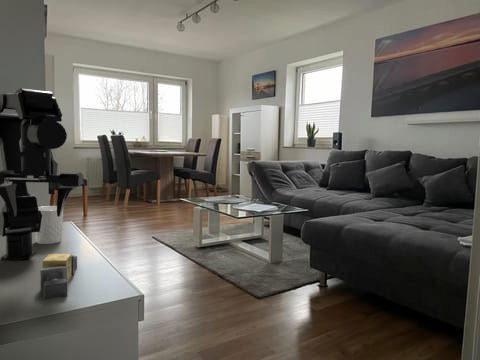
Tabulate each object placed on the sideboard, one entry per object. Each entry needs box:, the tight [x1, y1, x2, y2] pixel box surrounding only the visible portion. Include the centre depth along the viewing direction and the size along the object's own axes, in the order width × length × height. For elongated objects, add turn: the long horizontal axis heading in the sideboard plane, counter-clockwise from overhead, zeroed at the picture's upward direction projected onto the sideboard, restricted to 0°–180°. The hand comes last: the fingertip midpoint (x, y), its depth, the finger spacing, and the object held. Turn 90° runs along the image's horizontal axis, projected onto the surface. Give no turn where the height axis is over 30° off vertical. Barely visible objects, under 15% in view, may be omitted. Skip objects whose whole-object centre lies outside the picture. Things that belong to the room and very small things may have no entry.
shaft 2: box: [71, 254, 78, 276], centre depth 84 cm, size 5×5×4 cm
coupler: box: [42, 253, 72, 284], centre depth 78 cm, size 4×4×6 cm
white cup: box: [34, 205, 65, 245], centre depth 107 cm, size 8×8×10 cm
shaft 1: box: [39, 266, 68, 300], centre depth 72 cm, size 5×5×4 cm
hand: (36, 216), depth 82 cm, fingers open, 9 cm apart
